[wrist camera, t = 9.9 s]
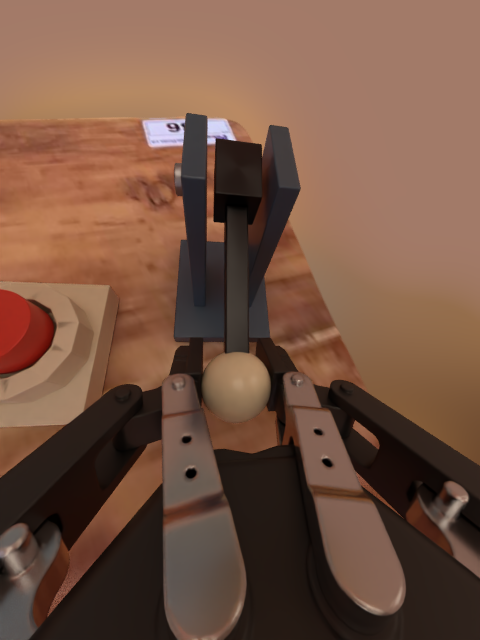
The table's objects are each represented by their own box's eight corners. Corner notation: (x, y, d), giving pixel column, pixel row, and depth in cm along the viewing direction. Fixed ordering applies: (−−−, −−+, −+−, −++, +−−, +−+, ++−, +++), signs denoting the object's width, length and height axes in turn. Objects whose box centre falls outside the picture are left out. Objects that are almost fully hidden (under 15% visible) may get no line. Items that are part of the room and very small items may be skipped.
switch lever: (262, 410, 12) (281, 432, 9) (200, 413, 12) (198, 437, 8) (258, 186, 14) (274, 137, 11) (205, 180, 13) (204, 128, 10)
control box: (97, 422, 16) (60, 425, 12) (-33, 428, 15) (-123, 433, 11) (119, 298, 20) (97, 268, 16) (17, 295, 19) (-35, 262, 15)
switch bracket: (266, 342, 20) (349, 243, 9) (175, 341, 19) (128, 228, 8) (258, 252, 24) (308, 100, 13) (182, 247, 23) (158, 75, 11)
